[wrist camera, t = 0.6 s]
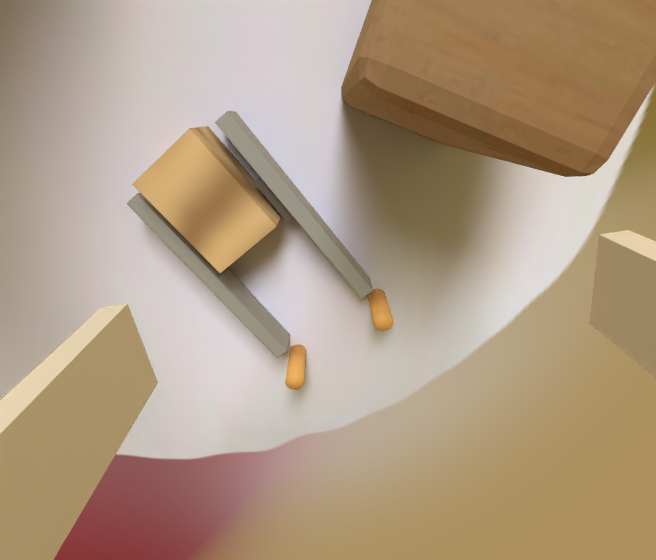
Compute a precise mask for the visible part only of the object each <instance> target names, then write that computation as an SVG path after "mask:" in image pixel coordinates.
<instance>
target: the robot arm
mask: <svg viewBox="0 0 656 560" xmlns="http://www.w3.org/2000/svg"><path fill="white" fill-rule="evenodd" d="M589 323H590V325H592V326H593V327H594V328H595V329H597V330H598V331H599V332H600V333H601V334H603V335H604V336H605V337H606V338H608V339H609V340H610V341H611V342H612V343H614V344H615V345H616V346H617V347H619V348H620V349H621V350H622V351H624V352H625V353H626V354H627V355H628V356H630V357H631V358H632V359H633V360H634V361H636V362H637V363H638V364H639V365H641V366H642V367H643V368H644V369H646V370H647V371H648V372H649V373H651V374H652V375H653V376H654V377H655V378H656V242H655V241H653V240H651V239H648V238H646V237H643V236H641V235H639V234H636V233H634V232H631V231H628V230H627V231H620V232H614V233H607V234H601V235H599V241H598V251H597V260H596V268H595V277H594V287H593V295H592V304H591V313H590V322H589ZM157 383H158V382H157V379H156V376H155V374H154V371H153V369H152V366H151V364H150V361H149V358H148V356H147V353H146V351H145V348H144V345H143V343H142V340H141V338H140V335H139V332H138V330H137V327H136V325H135V322H134V319H133V317H132V314H131V312H130V309H129V306H128V304H122V305H115V306H108V307H101V308H100V309H99V310H98V311H97V312H96V313H95V314H94V315H93V316H92V317H91V318H89V319H88V320H87V321H86V322H85V323H84V324H83V325H82V326H81V327H80V328H79V329H78V330H76V331H75V332H74V333H73V334H72V335H71V336H70V337H69V338H68V339H67V340H66V341H64V342H63V343H62V344H61V345H60V346H59V347H58V348H57V349H56V350H55V351H54V352H53V353H51V354H50V355H49V356H48V357H47V358H46V359H45V360H44V361H43V362H42V363H41V364H39V365H38V366H37V367H36V368H35V369H34V370H33V371H32V372H31V373H30V374H29V375H27V376H26V377H25V378H24V379H23V380H22V381H21V382H20V383H19V384H18V385H17V386H16V387H14V388H13V389H12V390H11V391H10V392H9V393H8V394H7V395H6V396H5V397H4V398H2V399H1V400H0V560H53V559H54V558H55V556H56V554H57V552H58V551H59V549H60V547H61V546H62V544H63V542H64V541H65V539H66V537H67V535H68V534H69V532H70V530H71V529H72V527H73V525H74V524H75V522H76V520H77V519H78V517H79V515H80V514H81V512H82V510H83V508H84V507H85V505H86V503H87V502H88V500H89V498H90V496H91V495H92V493H93V492H94V490H95V488H96V486H97V485H98V483H99V481H100V480H101V478H102V476H103V475H104V473H105V471H106V469H107V468H108V466H109V464H110V463H111V461H112V459H113V458H114V456H115V454H116V453H117V451H118V449H119V447H120V446H121V444H122V442H123V441H124V439H125V437H126V436H127V434H128V432H129V431H130V429H131V427H132V425H133V424H134V422H135V420H136V419H137V417H138V415H139V414H140V412H141V410H142V409H143V407H144V405H145V403H146V402H147V400H148V398H149V397H150V395H151V393H152V392H153V390H154V388H155V387H156V385H157Z"/></svg>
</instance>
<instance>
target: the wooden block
mask: <svg viewBox="0 0 656 560" xmlns="http://www.w3.org/2000/svg"><path fill="white" fill-rule="evenodd" d="M655 82H656V0H372V1H371V4H370V7H369V10H368V13H367V16H366V18H365V21H364V24H363V27H362V30H361V33H360V36H359V38H358V41H357V44H356V47H355V50H354V53H353V56H352V58H351V61H350V64H349V67H348V70H347V73H346V76H345V78H344V81H343V84H342V87H341V91H342V99H343V100H344V101H345V102H346V103H347V104H348V105H349V106H351V107H353V108H355V109H358V110H360V111H363V112H365V113H368V114H370V115H373V116H375V117H377V118H380V119H382V120H385V121H387V122H390V123H392V124H395V125H397V126H399V127H402V128H404V129H407V130H409V131H412V132H414V133H417V134H419V135H422V136H424V137H426V138H429V139H431V140H434V141H436V142H439V143H441V144H444V145H448V146H451V147H455V148H459V149H463V150H467V151H470V152H474V153H478V154H482V155H485V156H489V157H493V158H497V159H501V160H504V161H508V162H512V163H516V164H519V165H523V166H527V167H531V168H534V169H538V170H542V171H546V172H550V173H553V174H557V175H561V176H565V177H570V176H587V175H590V174H594V173H595V172H596V171H597V170H598V169H599V168H600V167H601V166H602V165H603V164H604V163H605V162H606V161H607V160H608V159H609V157H610V156H611V154H612V152H613V151H614V149H615V147H616V146H617V144H618V143H619V141H620V139H621V138H622V136H623V134H624V133H625V131H626V129H627V128H628V126H629V124H630V123H631V121H632V119H633V118H634V116H635V115H636V113H637V111H638V110H639V108H640V106H641V105H642V103H643V101H644V100H645V98H646V96H647V95H648V93H649V91H650V90H651V88H652V87H653V85H654V83H655Z"/></svg>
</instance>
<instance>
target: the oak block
mask: <svg viewBox="0 0 656 560" xmlns="http://www.w3.org/2000/svg"><path fill="white" fill-rule="evenodd" d="M254 182H256V181H255V180H254V179H253V177H252V176H251V175H250V174H249V173H248V172H247V170H246V169H245V168H244V167H243V166H242V165H241V164H240V162H239V161H238V160H237V159H236V158H235V157H234V156H233V154H232V153H231V152H230V151H229V150H228V149H227V148H226V146H225V145H224V144H223V143H222V142H221V141H220V139H219V138H218V137H217V136H216V135H215V134H214V133H213V131H212V130H211V129H210V128H209V127H208V126H207V127H198V128H189V129H188V130H187V131H186V132H185V133H184V134H183V135H182V136H181V137H180V138H179V139H178V140H177V141H176V142H175V143H174V144H173V145H172V146H171V147H170V148H169V149H168V150H167V151H166V152H165V153H164V154H163V155H162V156H161V157H160V158H159V159H158V160H157V161H156V162H155V163H154V164H152V165H151V166H150V167H149V168H148V169H147V170H146V171H145V172H144V173H143V174H142V175H141V176H140V177H139V178H138V179H137V180H136V181H135V182H134V183H133V185H134V187H135V188H136V189H137V190H138V191H139V192H140V193H141V194H142V195H143V196H144V197H145V198H146V199H147V200H148V201H149V202H150V203H151V204H152V205H153V206H154V207H155V208H156V209H157V210H158V211H159V212H160V213H161V214H162V215H163V216H164V217H165V218H166V219H167V220H168V221H169V222H170V223H171V224H172V225H173V226H174V227H175V228H176V229H177V230H178V231H179V232H180V233H181V234H182V235H183V236H184V237H185V238H186V239H187V240H188V241H189V242H190V243H191V244H192V245H193V246H194V247H195V248H196V249H197V250H198V251H199V252H200V253H201V254H202V255H203V256H204V257H205V259H206V260H207V261H208V262H209V263H210V264H211V265H212V266H213V267H214V268H215V269H216V270H217V271H218V272H219V273H221V272H222V271H224V270H225V269H226V268H227V267H228V266H230V265H231V264H232V263H233V262H235V261H236V260H237V259H238V258H239V257H241V256H242V255H243V254H244V253H245V252H247V251H248V250H249V249H250V248H251V247H253V246H254V245H255V244H256V243H257V242H259V241H260V240H261V239H262V238H263V237H265V236H266V235H267V234H268V233H269V232H271V231H272V230H273V229H274V228H275V227H277V224H278V222H279V220H280V218H281V214H280V213H279V212H278V211H277V210H276V208H275V207H274V206H273V205H272V204H271V203H270V201H269V200H268V199H267V198H266V197H265V195H264V194H263V193H262V192H261V191H260V189H259V188H258V187H257V186H256V185H255V184H254Z"/></svg>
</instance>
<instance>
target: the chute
mask: <svg viewBox="0 0 656 560" xmlns="http://www.w3.org/2000/svg"><path fill="white" fill-rule="evenodd" d="M215 123H216V124H217V125H218V127H219V128H220V129H221V130H222V131H223V133H224V134H225V135H226V136H227V137H228V139H229V140H230V141H231V142H232V143H233V145H234V146H235V147H236V148H237V149H238V151H239V152H240V153H241V154H242V155H243V157H244V158H245V159H246V160H247V161H248V163H249V164H250V165H251V166H252V168H253V169H254V170H255V171H256V172H257V174H258V175H259V176H260V178H259V179H258V180H257V181H256V182H254V184H255V185H256V186H257V187H258V188H259V189H260V191H261V192H262V193H263V194H264V195H265V197H266V198H267V199H268V200H269V201H270V203H271V204H272V205H273V206H274V207H275V208H276V210H277V211H278V212H279V213H280V214H281V216H282V217H283V218H284V219H285V220H286V222H288V221H289V220H291V219H292V218H293V217H294V218H295V219H296V220H297V222H298V223H299V224H300V225H301V226H302V228H303V229H304V230H305V231H306V232H307V234H308V235H309V236H310V237H311V238H312V240H313V241H314V242H315V243H316V244H317V246H318V247H319V248H320V249H321V251H322V252H323V253H324V254H325V255H326V257H327V258H328V259H329V260H330V261H331V263H332V264H333V265H334V266H335V267H336V269H337V270H338V271H339V272H340V273H341V275H342V276H343V277H344V278H345V279H346V281H347V282H348V283H349V284H350V285H351V287H352V288H353V289H354V290H355V291H356V293H357V294H358V295H359V296H360V297H361V299H362V298H363V297H365V296H366V295H368V294H369V296H368V299H369V303H370V308H371V312H372V317H373V321H374V325H375V327H376V328H377V329H379V330H382V331H384V330H388V329H390V328H391V327H392V325H393V318H392V314H391V311H390V308H389V305H388V302H387V299H386V296H385V293H384V292H383V291H382V290H380V289H375V290H373V289H372V285H371V282H370V278H369V276H368V275H367V274H366V273H365V272H364V270H363V269H362V268H361V267H360V265H359V264H358V263H357V262H356V260H355V259H354V258H353V257H352V255H351V254H350V253H349V252H348V250H347V249H346V248H345V247H344V245H343V244H342V243H341V242H340V241H339V239H338V238H337V237H336V236H335V234H334V233H333V232H332V231H331V229H330V228H329V227H328V226H327V224H326V223H325V222H324V221H323V219H322V218H321V217H320V216H319V214H318V213H317V212H316V211H315V210H314V208H313V207H312V206H311V205H310V203H309V202H308V201H307V200H306V198H305V197H304V196H303V195H302V193H301V192H300V191H299V190H298V188H297V187H296V186H295V185H294V183H293V182H292V181H291V180H290V179H289V177H288V176H287V175H286V174H285V172H284V171H283V170H282V169H281V167H280V166H279V165H278V164H277V162H276V161H275V160H274V159H273V157H272V156H271V155H270V154H269V152H268V151H267V150H266V149H265V147H264V146H263V145H262V144H261V143H260V141H259V140H258V139H257V138H256V136H255V135H254V134H253V133H252V131H251V130H250V129H249V128H248V126H247V125H246V124H245V123H244V121H243V120H242V119H241V118H240V116H239V115H238V114H237V113H236V112H231V111H227V112H226V113H225V114H224V115H223V116H221V117H220V118H219V119H218V120H217V121H216V122H215ZM127 205H128V206H129V207H130V208H131V209H132V210H133V211H134V212H135V213H136V214H137V215H138V216H139V217H140V218H141V219H142V220H143V221H144V222H145V223H146V224H147V225H148V226H149V227H150V228H151V229H152V230H153V231H154V232H155V233H156V234H157V235H158V236H159V237H160V238H161V239H162V241H163V242H164V243H165V244H166V245H167V246H168V247H169V248H170V249H171V250H172V251H173V252H174V253H175V254H176V255H177V256H178V257H179V258H180V259H181V260H182V261H183V262H184V263H185V264H186V265H187V266H188V267H189V268H190V269H191V270H192V271H193V272H194V273H195V274H196V275H197V276H198V277H199V278H200V279H201V280H202V282H203V283H204V284H205V285H206V286H207V287H208V288H209V289H210V290H211V291H212V292H213V293H214V294H215V295H216V296H217V297H218V298H219V299H220V300H221V301H222V302H223V303H224V304H225V305H226V306H227V307H228V308H229V309H230V310H231V311H232V312H233V313H234V314H235V315H236V316H237V317H238V318H239V319H240V320H241V321H242V323H243V324H244V325H245V326H246V327H247V328H248V329H249V330H250V331H251V332H252V333H253V334H254V335H255V336H256V337H257V338H258V339H259V340H260V341H261V342H262V343H263V344H264V345H265V346H266V347H267V348H268V349H269V350H270V351H271V352H272V353H273V354H274V355H275V356H276V357H277V358H278V357H279V356H280V355H282V354H283V353H285V352H286V351H287V348H288V342H289V336H290V334H289V333H288V332H287V331H286V330H285V329H284V328H283V327H282V326H281V324H280V323H279V322H278V321H277V320H276V319H275V318H274V317H273V316H272V315H271V314H270V313H269V312H268V311H267V310H266V308H265V307H264V306H263V305H262V304H261V303H260V302H259V301H258V300H257V299H256V298H255V297H254V296H253V295H252V294H251V292H250V291H249V290H248V289H247V288H246V287H245V286H244V285H243V284H242V283H241V282H240V281H239V280H238V279H237V278H236V276H235V275H234V274H233V273H232V272H231V271H230V270H229V269H228V267H229V266H228V267H227V268H226V269H225V270H224V271H222V272H221V273H219V272H218V271H217V270H216V269H215V268H214V267H213V266H212V265H211V264H210V263H209V262H208V261H207V260H206V259H205V257H204V256H203V255H202V254H201V253H200V252H199V251H198V250H197V249H196V248H195V247H194V246H193V245H192V244H191V243H190V242H189V241H188V240H187V239H186V238H185V237H184V236H183V235H182V234H181V233H180V232H179V231H178V230H177V229H176V228H175V227H174V226H173V225H172V224H171V223H170V222H169V221H168V220H167V219H166V218H165V217H164V216H163V215H162V214H161V213H160V212H159V211H158V210H157V209H156V208H155V207H154V206H153V205H152V204H151V203H150V202H149V201H148V200H147V199H146V198H145V197H144V196H143V195H142V194H141V193H138V194H136V195H135V196H134V197H133V198H132V199H131V200H130V201H129V202H128V203H127ZM305 360H306V349H305V347H304V346H302V345H294V346H292V347H291V349H290V355H289V361H288V368H287V374H286V381H285V383H286V385H287V387H288V388H290V389H293V390H296V389H299V388H301V387H302V386H303V383H304V372H305Z"/></svg>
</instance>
